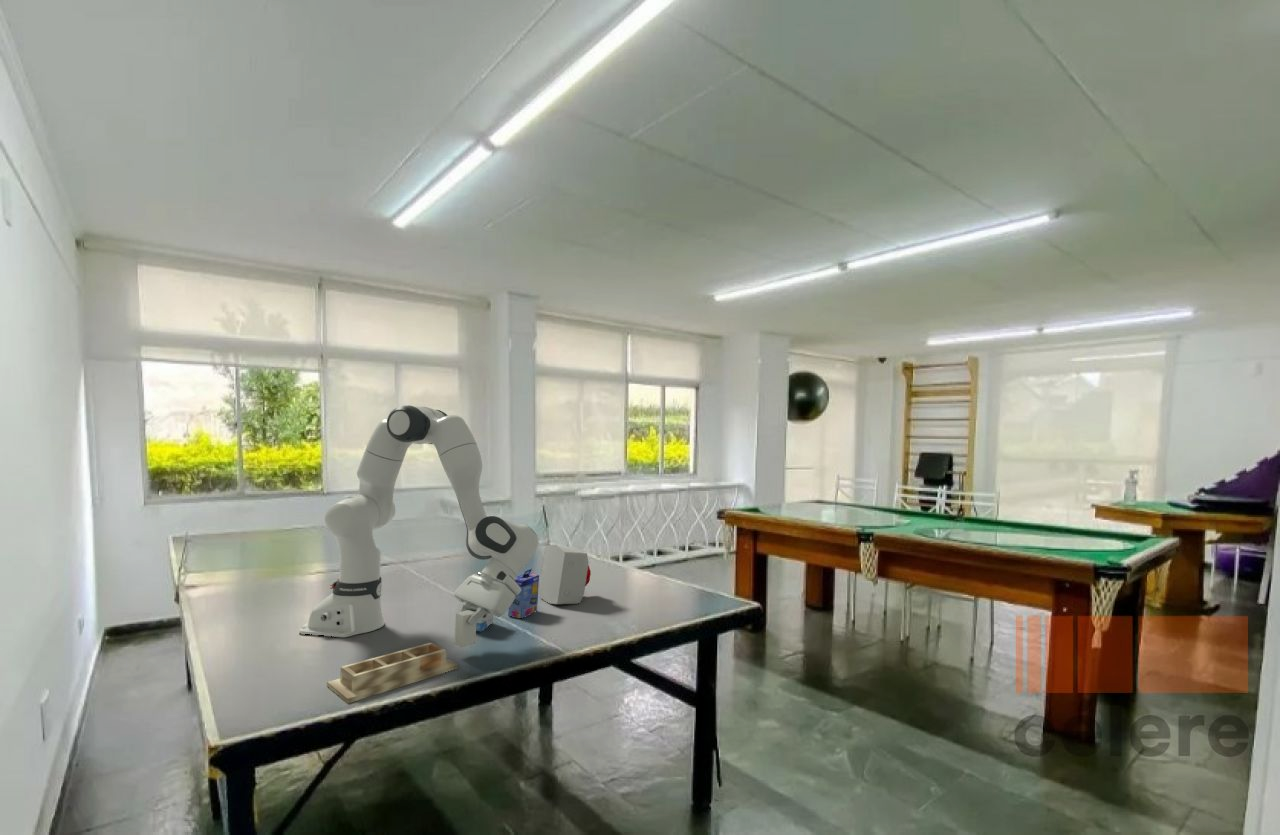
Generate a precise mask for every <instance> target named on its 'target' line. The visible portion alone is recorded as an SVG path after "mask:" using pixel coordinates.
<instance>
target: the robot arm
mask: <svg viewBox="0 0 1280 835" xmlns="http://www.w3.org/2000/svg"><path fill="white" fill-rule="evenodd" d="M472 433H473V432H472V431H471V429H470V428H469V426H468V424H467V423H466V421H465V420H464V419H463V418H462V417H461V416H459V415H455V414H447V413H446V412H444V411H441V410H439V409H434V408H432V407H431V408H430V407H427V406H414V405H401V406H398V407H395V408H394V409H393V410H391V411H390V412H389V414H388V416H387V418H384V419H382V420H381V421H380V422H379V423H378V424H377V425H376V427H375V429H374V430H373V432H372V434H371V436H370V437H369V439H368V442H367V444H366V446H365V449H364V452H363V455H362V458H361V460H360V462H359V465H358V467H357V468H358V469H357V471H356V475H357V478H358V479H359V489H358V493H357V495H356V496H354V497H348V498H344V499H342V500H340V501H338V502H336V503H334V504H332V505H331V506H330V507H329V508H328V509H327V510H326V512H325V516H324V523H325V527H326V529H327V530H328V531H329V532H330V533H331V534H332V535H333V537H334V539H335V541H336V545H337V548H338V554H339V578H338V579H337V580H336V581H334V582H333V583H332V584H330V585H329V586H330V588H329V589H330V590H332V593H330V594H329V595H328V596H326V597H325V598H323V600H321V601H320V602H318V604H316V605H315V606H314V607H313V608H312V610H311V612H310V615H309V617H308V618H309V619H308V621H307V622H306V623H304V624H303V625H302V626H301V627H299V632H298V633H301V634H300V635H305V634H310V635H309V636H318V635H324V636H323V637H331V636H332V637H336V638H348V637H352V636H355V635H359V634H365V633H369V632H373V631H375V630H377V629H378V630H379V629H380V628H382V627H383V626H384V625H385V623H386V622H385V621H384V616H383V612H382V604H381V597H382V591H383V585H382V584H383V583H382V576H381V560H382V553H381V551H380V549H379V547H377V545H376V543H375V539H374V534H373V531H375V530H378V529H381V528H382V527H384V526H385V525H387V524H388V523H390V522H391V521H392V520H393V519H394V516H395V514H396V506H395V503H394V490H395V485H396V481H397V479H398V475H399V473H400V471H401V468H402V465H403V462H404V459H405V456H406V453H407V451H408V449H409V447H410V446H411V445H412V444H415V445H425V444H427V445H434V448H435V450H436V452H437V455H438V458H439V461H440V463H441V465H442V468H443V470H444V473H445V474H446V476H447V478H448V480H449V482H450V485H451V487H452V489H453V491H454V493H455V496H456V499H457V502H458V505H459V508H460V511H461V514H462V518H463V520H464V524H465V528H466V537H465V538H466V539H465V540H466V541H465V544H466V545H465V546H466V549H467V551H468V553H469V554H470V555H471V556H472V557H473V558H475V559H478V560H482V561H483V560H485V561H486V560H489V559H490V560H489V561H488V563H487V564H486V565H485V567H484V568H483V569H482V570H481V571H478V572H476V573H472V574H471V575H469V576H468V577H467V578H466V579H465V580H463V582H462V583H461V584H460V585H459V586H458V587H457V588H456V590H455V591H454V594H453V596H454V597H455V599H456V600H457V601H458V602H460V603H461V605H460V608H459V611H458V612H462V611H467V610H468V609H470V608H471V606H472V607H474V608H477V612H475V613H474V614H473V615H472V616H471V615H470V616H469V617H468V619H467V620H466V622H467V623H468V624H470V625H474V623H475V622H476V621H477V620H478V619H480V618H481V617H483V616H484V615H485V614H486V612H487V613H489V614H492V615H493V617H494V616H495V617H496V618H500V617H502V616H503V615H505V613H507V612H508V611H509V607H510V606H511V604H512V603H513V601H514V599H515V595H518V594H519V593H520V592H521V588H520V587H519V585H518V584H517V583H516V582H515V580H516V578H517V577H518V576H519V574H520V572H521V570H522V569H524V568H525V567H526V566H527V565H528V563H529V562H530V560H531V559H532V558H533V556H534V554H535V553H536V551H537V549H538V546H539V542H540V541H539V537H538V535H537V533H536V532H535V530H534V529H532V527H530V526H528V525H527V524H524V523H522V524H520V523H519V524H518V523H513V522H509V521H507V520H504V519H502V518H501V517H500V516H499V517H498V516H495V515H489V516H487V514H486V510H485V507H484V504H483V501H482V499H481V498H482V497H481V496H480V494H481V493H480V480H481V475H482V470H483V461H482V457H481V452H480V450H479V449H480V448H479V447H478V444H477V442H476V440H475V437H474V435H473V434H472ZM311 634H312V635H311Z"/></svg>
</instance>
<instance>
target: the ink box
mask: <svg viewBox="0 0 1280 835" xmlns="http://www.w3.org/2000/svg"><path fill="white" fill-rule="evenodd" d="M468 610H471V611H473V612H477V608H474V607H472V606H471V608H470V609H468ZM492 623H493V624H494V615H492V614H489V613H487V612H486V614H485V615H484V616H483V617H481V618H480V619H478V620H477V621H476V631H482V630H483V629H485V628H486V627H487V626H489V625H490V624H492ZM493 624H492V625H493ZM490 626H491V625H490ZM490 626H489V627H490ZM487 628H488V627H487ZM487 628H486V629H487ZM486 629H485V630H486ZM483 631H484V630H483ZM483 631H482V632H483Z"/></svg>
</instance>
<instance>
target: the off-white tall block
mask: <svg viewBox="0 0 1280 835" xmlns="http://www.w3.org/2000/svg"><path fill="white" fill-rule="evenodd" d="M474 613H475V612H473V611H471V610H467V611H462V612H459V611H458V612H455V628H454V644H455V645H456V646H459V647H461V648H465V647H467V646H471V645H475V644H476V642H477V641H476V640H477V632H476V622H475V623H474V625H470V624H468V623H467V622H466V620H467V619H468V617H469V616H470V615H471V616H472V615H473V614H474Z"/></svg>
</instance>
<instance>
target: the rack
mask: <svg viewBox="0 0 1280 835" xmlns="http://www.w3.org/2000/svg"><path fill="white" fill-rule="evenodd" d="M456 668H457V669H458V664H457V663H456V662H453V661H452V660H450V659H448V658H447V650H446V649H444V648H442V647H441V646H438V645H437V644H435V643H433V642H429V643H428V642H427V643H424V644H420V645H417V646H412V647H409V648H406V649H405V648H404V649H402V650H398V651H394V652H391V653H387V654H383V655H379V656H376V657H371V658H369V659H365V660H361V661H357V662H354V663H353V662H352V663H350V664H346V665H342V666H340V678H337V679H334V680H332V679H331V680H329V681H327V682H326V687H327V686H328V687H329V688H328V687H327V688H328V689H329V690H330V691H332V692H333V691H334V692H335V695H337V696H338V695H339V696H340V697H339V696H338V697H339V698H341V699H342V700H343V701H344V702H346V704H351V703H354V702H356V701H360V700H363V699H366V698H370V697H373V696H376V695H378V694H382V693H385V692H388V691H392V690H395V689H398V688H401V687H404V686H406V685H411V684H413V683H417V682H419V681H423V680H427V679H430V678H432V677H433V678H434V677H436V676H439V675H442V674H446V673H449V672H452V671H455V670H457V669H456ZM454 669H455V670H454ZM451 670H452V671H451ZM448 671H449V672H448ZM445 672H446V673H445ZM334 692H333V693H334ZM372 695H373V696H372Z"/></svg>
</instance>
